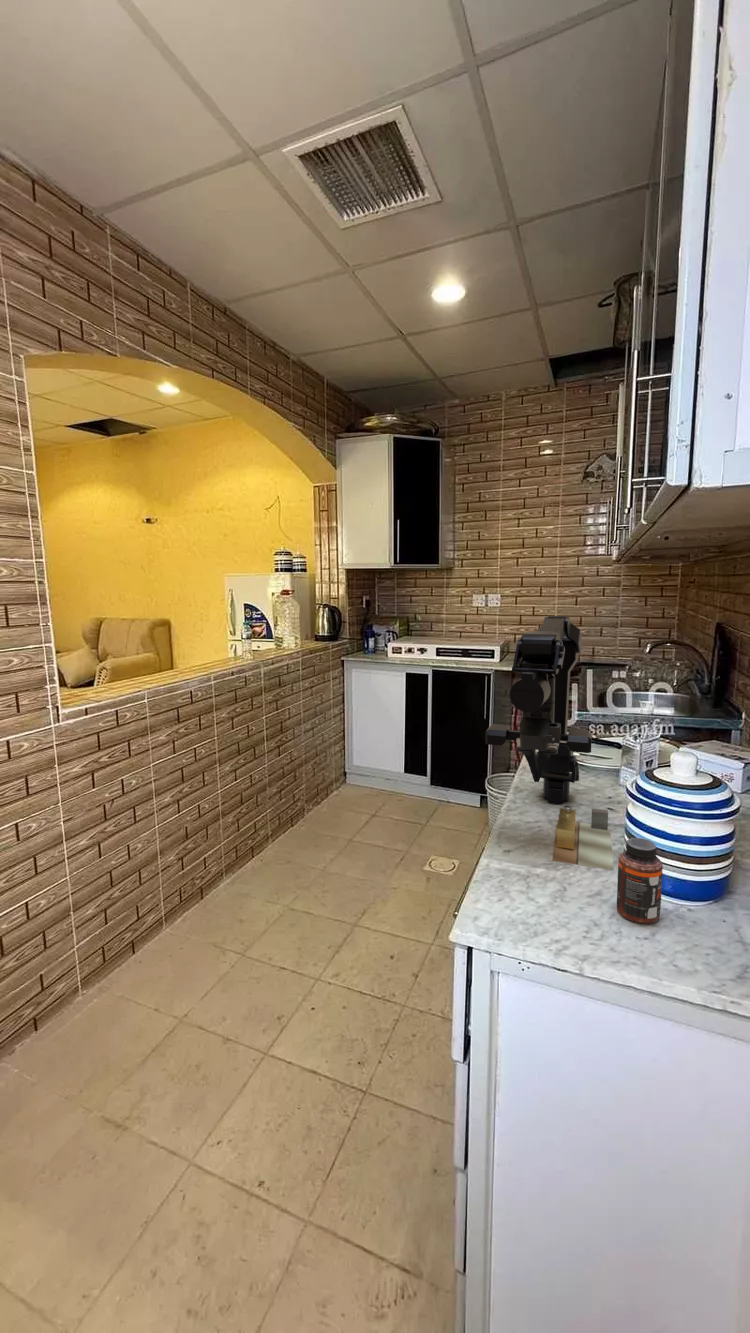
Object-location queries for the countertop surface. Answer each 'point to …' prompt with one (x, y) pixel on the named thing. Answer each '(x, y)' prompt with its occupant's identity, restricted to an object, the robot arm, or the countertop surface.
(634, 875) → the supplement bottle
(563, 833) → the latch bar
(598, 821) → the stop block
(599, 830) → the door board
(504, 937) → the countertop surface
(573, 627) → the robot arm
